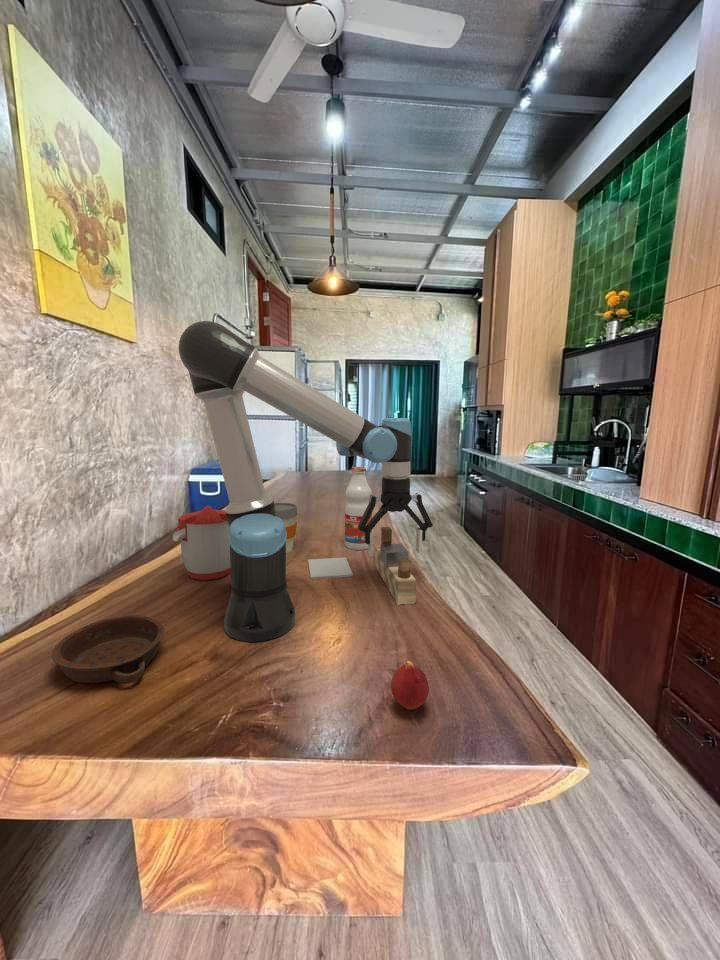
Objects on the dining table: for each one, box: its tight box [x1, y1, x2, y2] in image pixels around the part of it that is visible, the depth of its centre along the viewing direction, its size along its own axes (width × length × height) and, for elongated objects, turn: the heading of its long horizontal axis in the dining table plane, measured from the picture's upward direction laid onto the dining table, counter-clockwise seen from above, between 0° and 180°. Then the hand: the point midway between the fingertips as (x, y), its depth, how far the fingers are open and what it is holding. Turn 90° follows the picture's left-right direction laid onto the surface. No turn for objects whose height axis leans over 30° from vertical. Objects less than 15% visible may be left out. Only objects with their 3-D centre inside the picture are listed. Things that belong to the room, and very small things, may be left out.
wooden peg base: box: [374, 526, 418, 606], centre depth 110 cm, size 26×5×13 cm, turn 10°
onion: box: [390, 660, 430, 711], centre depth 63 cm, size 6×6×8 cm
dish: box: [51, 614, 166, 685], centre depth 74 cm, size 18×22×5 cm
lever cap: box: [380, 543, 409, 567], centre depth 110 cm, size 7×6×4 cm
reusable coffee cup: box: [274, 502, 298, 554], centre depth 136 cm, size 13×13×15 cm
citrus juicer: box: [172, 505, 231, 581], centre depth 114 cm, size 16×17×20 cm
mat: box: [307, 557, 354, 580], centre depth 121 cm, size 14×12×1 cm
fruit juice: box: [344, 466, 373, 551], centre depth 139 cm, size 9×9×28 cm
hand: (395, 553), depth 110 cm, fingers open, 13 cm apart
